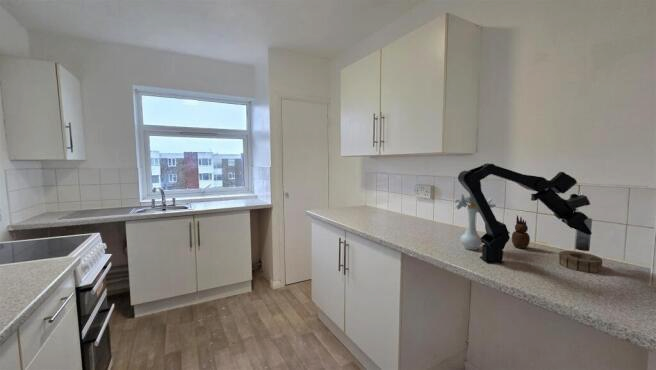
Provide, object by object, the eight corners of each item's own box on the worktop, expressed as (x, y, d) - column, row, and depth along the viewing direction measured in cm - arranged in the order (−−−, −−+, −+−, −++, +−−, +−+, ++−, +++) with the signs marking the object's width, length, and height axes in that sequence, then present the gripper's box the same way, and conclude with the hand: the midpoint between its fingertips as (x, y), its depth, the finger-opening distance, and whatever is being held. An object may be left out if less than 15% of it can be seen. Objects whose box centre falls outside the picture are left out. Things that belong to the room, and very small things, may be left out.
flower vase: (497, 248, 129) (500, 194, 126) (469, 254, 121) (471, 197, 119) (472, 240, 141) (474, 191, 138) (445, 246, 133) (447, 194, 130)
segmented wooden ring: (576, 272, 102) (577, 262, 101) (551, 260, 113) (551, 250, 113) (610, 272, 101) (611, 261, 101) (581, 260, 113) (582, 250, 113)
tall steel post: (581, 251, 104) (584, 219, 103) (572, 247, 108) (574, 217, 107) (592, 251, 104) (595, 219, 102) (583, 247, 108) (585, 217, 106)
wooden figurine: (508, 246, 132) (510, 214, 130) (517, 244, 134) (519, 213, 132) (523, 250, 125) (525, 217, 124) (531, 249, 127) (533, 216, 126)
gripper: (582, 190, 97) (622, 224, 93) (566, 185, 113) (599, 214, 110) (552, 211, 101) (589, 244, 97) (540, 203, 118) (572, 231, 114)
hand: (588, 232), depth 105 cm, fingers closed on tall steel post, 4 cm apart
